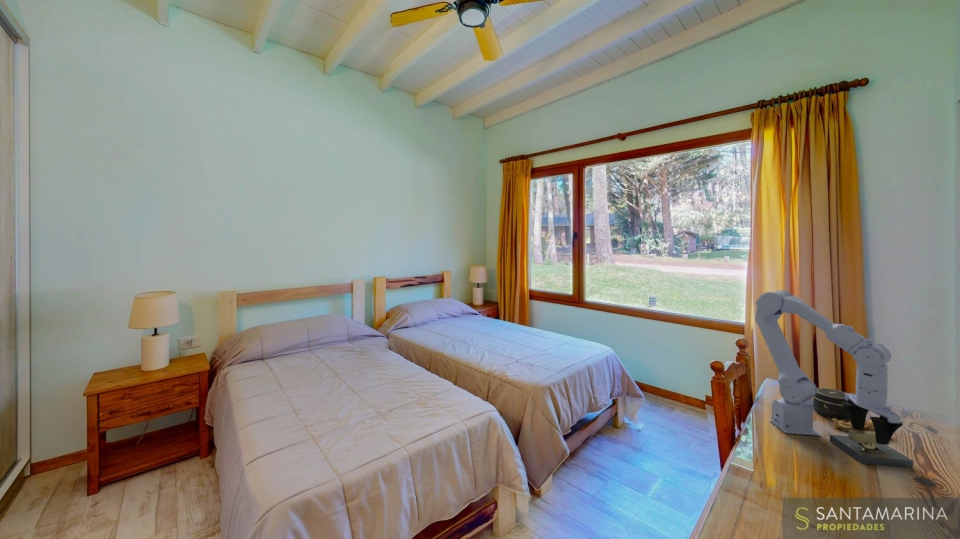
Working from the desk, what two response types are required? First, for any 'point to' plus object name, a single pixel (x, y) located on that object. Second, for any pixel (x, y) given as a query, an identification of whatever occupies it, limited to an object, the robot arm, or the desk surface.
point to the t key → (864, 438)
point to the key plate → (871, 453)
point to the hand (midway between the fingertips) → (869, 436)
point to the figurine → (848, 425)
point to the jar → (830, 404)
